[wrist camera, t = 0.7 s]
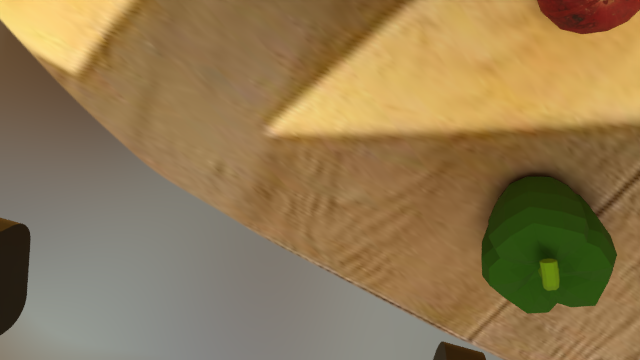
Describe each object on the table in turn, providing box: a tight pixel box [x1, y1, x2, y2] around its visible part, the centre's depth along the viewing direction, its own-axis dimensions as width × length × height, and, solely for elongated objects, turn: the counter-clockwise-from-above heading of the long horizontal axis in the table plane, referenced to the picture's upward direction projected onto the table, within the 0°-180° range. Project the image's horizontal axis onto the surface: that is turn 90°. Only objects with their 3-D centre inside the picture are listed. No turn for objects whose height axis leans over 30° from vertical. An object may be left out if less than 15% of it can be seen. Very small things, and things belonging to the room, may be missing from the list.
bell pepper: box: [482, 176, 617, 313], centre depth 37 cm, size 8×8×10 cm
